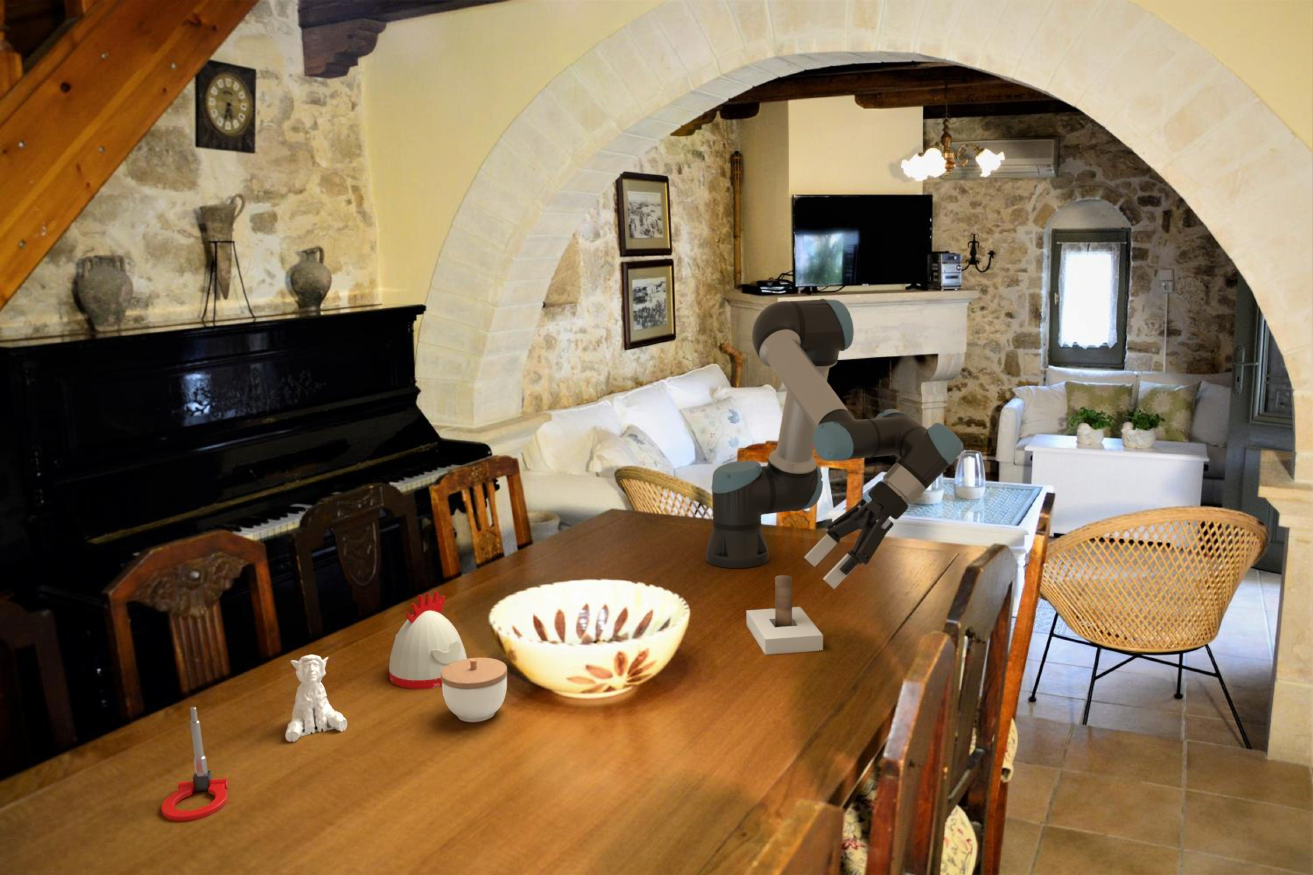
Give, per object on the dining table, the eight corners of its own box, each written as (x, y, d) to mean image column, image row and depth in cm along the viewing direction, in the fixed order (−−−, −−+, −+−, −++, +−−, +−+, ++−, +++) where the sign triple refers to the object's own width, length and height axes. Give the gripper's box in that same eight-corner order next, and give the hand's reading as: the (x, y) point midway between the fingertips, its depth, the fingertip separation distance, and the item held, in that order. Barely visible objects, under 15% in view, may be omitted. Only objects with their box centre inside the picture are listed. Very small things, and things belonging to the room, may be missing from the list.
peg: (773, 634, 207) (773, 575, 205) (789, 633, 207) (789, 574, 205) (777, 640, 204) (777, 580, 202) (793, 639, 204) (793, 579, 202)
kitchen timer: (483, 671, 192) (479, 592, 190) (419, 695, 182) (413, 612, 180) (437, 652, 202) (433, 577, 199) (374, 675, 192) (368, 595, 189)
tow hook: (219, 820, 144) (236, 784, 153) (207, 734, 141) (225, 702, 150) (154, 827, 143) (174, 789, 152) (141, 740, 140) (163, 707, 149)
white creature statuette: (286, 744, 165) (280, 671, 163) (278, 723, 173) (271, 653, 171) (348, 730, 170) (343, 659, 168) (337, 710, 177) (332, 642, 175)
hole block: (746, 624, 213) (746, 610, 212) (800, 620, 214) (800, 606, 214) (765, 654, 197) (765, 639, 197) (822, 650, 198) (822, 635, 198)
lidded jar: (520, 704, 178) (517, 651, 176) (490, 732, 168) (487, 676, 166) (463, 697, 181) (460, 645, 180) (430, 723, 171) (427, 668, 170)
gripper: (933, 522, 191) (851, 606, 192) (887, 490, 216) (814, 565, 217) (905, 495, 190) (823, 580, 191) (862, 465, 214) (789, 541, 215)
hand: (818, 572), depth 204 cm, fingers open, 13 cm apart
